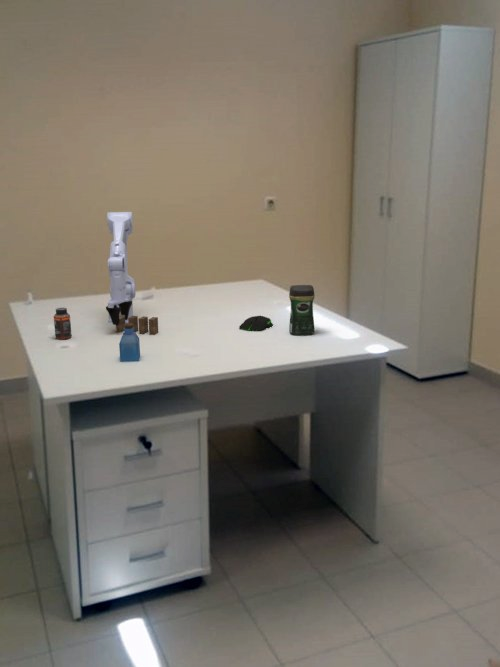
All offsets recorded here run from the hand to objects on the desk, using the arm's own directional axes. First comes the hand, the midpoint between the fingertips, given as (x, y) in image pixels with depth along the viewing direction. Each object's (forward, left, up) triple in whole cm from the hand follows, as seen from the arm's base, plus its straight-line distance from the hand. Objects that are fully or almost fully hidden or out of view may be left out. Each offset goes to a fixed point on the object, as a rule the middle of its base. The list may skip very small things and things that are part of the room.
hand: (120, 322), depth 277 cm
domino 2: (+10, 0, -4) cm, 10 cm away
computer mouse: (+49, +21, -4) cm, 54 cm away
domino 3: (+14, 0, -4) cm, 14 cm away
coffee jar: (+68, +16, -4) cm, 70 cm away
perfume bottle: (+20, -32, -4) cm, 38 cm away
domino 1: (+6, 0, -4) cm, 7 cm away
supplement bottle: (-16, -15, -4) cm, 22 cm away
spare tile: (0, 0, -4) cm, 4 cm away
